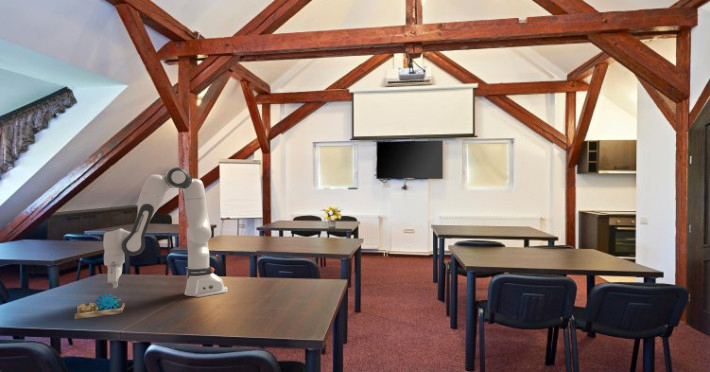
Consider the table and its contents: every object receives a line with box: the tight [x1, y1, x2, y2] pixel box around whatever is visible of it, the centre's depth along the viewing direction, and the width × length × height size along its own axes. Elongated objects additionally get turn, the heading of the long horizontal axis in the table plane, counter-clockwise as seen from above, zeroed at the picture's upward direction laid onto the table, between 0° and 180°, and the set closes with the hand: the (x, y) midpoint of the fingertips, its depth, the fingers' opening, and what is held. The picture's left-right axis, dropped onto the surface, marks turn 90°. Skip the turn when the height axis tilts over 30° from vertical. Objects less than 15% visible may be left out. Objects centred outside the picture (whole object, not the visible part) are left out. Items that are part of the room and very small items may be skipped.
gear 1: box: [76, 301, 98, 313], centre depth 173 cm, size 7×7×4 cm
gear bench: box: [74, 302, 126, 320], centre depth 175 cm, size 18×12×2 cm
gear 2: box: [95, 293, 121, 311], centre depth 178 cm, size 11×6×10 cm
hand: (115, 287), depth 188 cm, fingers closed
